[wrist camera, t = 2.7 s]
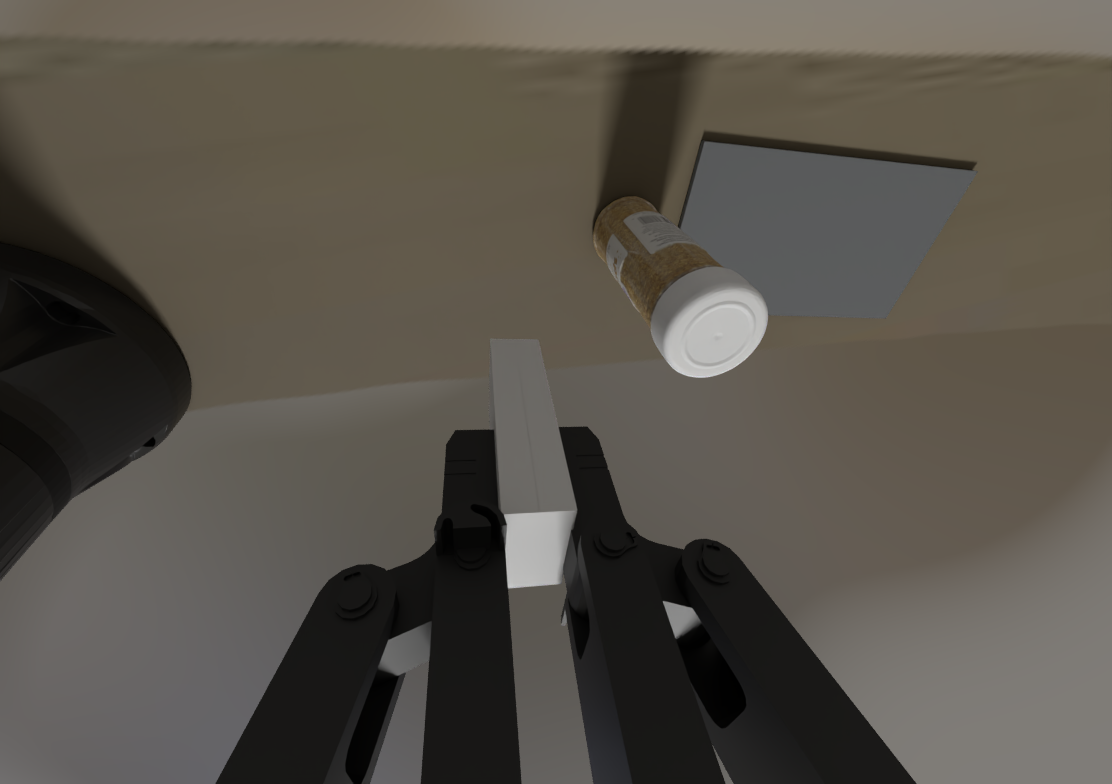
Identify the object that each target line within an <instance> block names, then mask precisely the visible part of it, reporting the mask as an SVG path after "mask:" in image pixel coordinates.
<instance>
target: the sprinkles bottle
mask: <svg viewBox="0 0 1112 784" xmlns="http://www.w3.org/2000/svg"><path fill="white" fill-rule="evenodd" d="M593 242H594V247H595V249H596V251H597V253H598V256H599V257H600V258H601V259H603V261H604V262H605V263H606V264H607V265H608V267H609V269H610V271H611V273H612V274H613V276H614V277H615V279H616V280H617V281H618V283H619V284H620V286H621V287H622V289H623V290H624V292H625V293H626V295H627V296H628V298H629V299H630V301H631V302H632V304H633V305H634V306H635V308H636V309H637V310H638V311H639V312H640V314H641V315H642V317H643V318H644V320H645V321H646V323H647V324H648V326H649V327H650V329H651V334H652V337H653V341H654V343H655V344H656V346H657V348H658V349H659V351H660V352H661V354H662V355H663V357H664V358H665V359H666V361H667V362H668V363H669V365H670V366H671V367H672V368H673V369H674V370H676V371H677V372H679V373H681V374H683V375H686V376H690V377H699V378H703V377H711V376H715V375H718V374H721V373H724V372H726V371H728V370H730V369H732V368H734V367H735V366H737V365H739V364H740V363H741V362H743V361H744V360H745V359H746V358H747V357H748V356H749V355H750V354H751V353H752V352H753V351H754V350H755V348H756V347H757V346H758V344H759V343H760V341H761V339H762V337H763V335H764V333H765V330H766V327H767V321H768V310H767V306H766V302H765V300H764V298H763V297H762V295H761V294H760V293H759V292H758V291H757V290H756V289H755V288H754V287H753V286H752V285H751V284H750V283H749V282H748V281H746V280H745V279H744V278H743V277H742V276H741V275H739V274H738V273H736V272H735V271H733V270H731V269H727V268H724V267H723V266H721V265H720V264H719V263H718V262H717V261H715V260H714V259H713V258H712V257H711V256H710V255H709V253H708V252H707V251H706V250H705V249H704V248H703V247H701V246H700V245H699V244H698V243H696V242H695V241H694V240H693V239H692V238H690V237H689V236H688V235H687V234H685V233H684V232H683V231H682V230H681V229H679V228H678V227H677V226H676V225H675V224H673V223H672V222H671V221H670V220H669V219H667V218H666V217H665V216H663V215H661V214H659V213H658V211H657V210H656V208H655V207H654V206H653V205H652V204H651V203H650V202H648V201H647V200H645V199H642V198H640V197H636V196H632V197H631V196H627V197H622V198H620V199H617V200H615V201H613V202H612V203H610V204H609V205H608V206H607V207H605V208H604V209H603V210H602V211H601V213H600V215H599V216H598V218H597V220H596V223H595V227H594V231H593Z"/></svg>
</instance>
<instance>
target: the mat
mask: <svg viewBox="0 0 1112 784" xmlns="http://www.w3.org/2000/svg"><path fill="white" fill-rule="evenodd" d="M977 172H978V171H973V170H965V169H956V168H947V167H938V166H929V165H920V164H911V163H902V162H893V161H884V160H875V159H866V158H857V157H848V156H838V155H829V154H820V153H811V152H802V151H793V150H784V149H775V148H766V147H757V146H748V145H739V144H730V143H721V142H712V141H703V140H702V141H701V145H700V149H699V152H698V156H697V160H696V163H695V167H694V171H693V174H692V178H691V182H690V185H689V189H688V193H687V196H686V200H685V204H684V207H683V211H682V215H681V218H680V222H679V226H678V228H679V229H681V230H682V231H683V232H684V233H685V234H687V235H688V236H689V237H690V238H692V239H693V240H694V241H695V242H696V243H698V244H699V245H700V246H701V247H703V248H704V249H705V250H706V251H707V252H708V253H709V255H710V256H711V257H712V258H713V259H714V260H715V261H717V262H718V263H719V264H720V265H721V266H723V267H724V268H727V269H731V270H733V271H735V272H736V273H738V274H739V275H741V276H742V277H743V278H744V279H745V280H746V281H748V282H749V283H750V284H751V285H752V286H753V287H754V288H755V289H756V290H757V291H758V292H759V293H760V294H761V295H762V297H763V298H764V300H765V302H766V306H767V310H768V315H783V316H819V317H856V318H886V317H887V316H888V314H889V312H890V311H891V309H892V308H893V306H894V304H895V303H896V301H897V300H898V298H899V296H900V295H901V293H902V292H903V290H904V288H905V287H906V285H907V284H908V282H909V281H910V279H911V277H912V276H913V274H914V273H915V271H916V269H917V268H918V266H919V265H920V263H921V261H922V260H923V258H924V257H925V255H926V253H927V252H928V250H929V249H930V247H931V245H932V244H933V242H934V241H935V239H936V237H937V236H938V234H939V233H940V231H941V230H942V228H943V226H944V225H945V223H946V222H947V220H948V218H949V217H950V215H951V214H952V212H953V210H954V209H955V207H956V206H957V204H958V202H959V201H960V199H961V198H962V196H963V194H964V193H965V191H966V190H967V188H968V186H969V185H970V183H971V182H972V180H973V179H974V177H975V175H976V174H977Z"/></svg>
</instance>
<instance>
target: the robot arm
mask: <svg viewBox="0 0 1112 784" xmlns="http://www.w3.org/2000/svg"><path fill="white" fill-rule="evenodd" d="M190 399H191V380H190V375H189V372H188V369H187V366H186V363H185V361H184V359H183V357H182V355H181V353H180V352H179V350H178V348H177V347H176V345H175V344H174V343H173V341H172V340H171V338H170V337H169V336H168V335H167V334H166V332H165V331H164V330H163V329H162V328H161V327H160V326H159V325H158V324H157V323H156V322H155V321H154V320H153V319H152V318H151V317H150V316H149V315H148V314H147V313H146V312H145V311H143V310H142V309H141V308H140V307H139V306H137V305H136V304H135V303H133V302H132V301H131V300H130V299H128V298H127V297H125V296H124V295H122V294H121V293H120V292H118V291H117V290H115V289H113V288H112V287H110V286H109V285H107V284H105V283H104V282H102V281H100V280H98V279H97V278H95V277H93V276H91V275H89V274H87V273H85V272H83V271H81V270H79V269H77V268H75V267H73V266H70V265H68V264H66V263H63V262H61V261H59V260H56V259H53V258H51V257H48V256H45V255H42V254H39V253H36V252H33V251H30V250H27V249H23V248H19V247H16V246H11V245H7V244H3V243H0V581H1V580H2V579H3V577H4V576H5V575H6V574H7V573H8V572H9V570H10V569H11V568H12V567H13V566H14V565H15V563H16V562H17V561H18V560H19V559H20V558H21V556H22V555H23V554H24V553H25V552H26V551H27V550H28V548H29V547H30V546H31V545H32V544H33V543H34V541H35V540H36V539H37V538H38V537H39V536H40V535H41V533H42V532H43V531H44V530H45V529H46V528H47V527H48V525H49V524H50V523H51V522H52V521H53V519H54V518H55V517H56V516H57V515H58V514H59V513H60V511H61V510H62V509H63V508H64V507H65V506H66V505H67V504H68V503H69V502H70V501H71V500H72V499H73V498H74V497H76V496H77V495H79V494H81V493H82V492H84V491H86V490H87V489H89V488H90V487H92V486H94V485H96V484H97V483H99V482H100V481H102V480H104V479H105V478H107V477H109V476H110V475H112V474H114V473H115V472H117V471H119V470H120V469H122V468H123V467H125V466H126V465H128V464H129V463H130V462H132V461H134V460H136V459H138V458H140V457H141V456H143V455H145V454H147V453H148V452H150V451H151V450H153V449H154V448H155V447H157V446H158V445H159V444H160V443H161V442H163V440H165V438H166V437H167V436H168V435H169V434H170V432H171V431H172V430H173V428H174V427H175V426H176V425H177V423H178V422H179V421H180V420H181V418H182V417H183V416H184V414H185V412H186V411H187V408H188V406H189V403H190ZM489 423H490V430H455V432H454V434H453V435H452V436H451V438H450V440H449V441H448V443H447V444H446V457H445V472H444V488H443V503H442V513H441V515H440V516H439V517H438V518H437V522H436V525H435V528H434V536H435V543H434V545H433V546H432V547H431V548H430V549H429V550H428V551H427V552H426V553H425V554H423V555H422V556H421V557H419V558H417V559H415V560H413V561H411V562H409V563H407V564H404V565H401V566H398V567H396V568H393V569H391V570H388V571H386V570H385V569H384V568H381V567H378V566H375V565H373V564H368V565H367V564H366V565H356V566H353V567H350V568H347V569H345V570H342V571H341V572H339V573H338V574H337V575H335V576H334V577H332V578H331V579H330V580H329V581H328V582H327V583H326V584H325V586H324V587H323V588H322V590H321V591H320V592H319V594H318V596H317V597H316V599H315V601H314V603H313V605H312V607H311V608H310V611H309V612H308V614H307V616H306V618H305V619H304V621H303V623H302V625H301V627H300V629H299V631H298V632H297V634H296V636H295V638H294V640H293V642H292V644H291V645H290V647H289V649H288V651H287V653H286V655H285V657H284V658H283V660H282V662H281V664H280V666H279V667H278V669H277V671H276V673H275V675H274V677H273V679H272V680H271V682H270V684H269V686H268V688H267V690H266V692H265V693H264V695H263V697H262V699H261V701H260V702H259V704H258V706H257V708H256V710H255V712H254V714H253V716H252V717H251V719H250V721H249V723H248V725H247V726H246V729H245V730H244V732H243V734H242V736H241V738H240V740H239V741H238V743H237V745H236V747H235V749H234V751H233V753H232V754H231V756H230V758H229V760H228V762H227V763H226V765H225V767H224V769H223V771H222V773H221V774H220V776H219V778H218V780H217V782H216V784H370V781H371V778H372V775H373V772H374V769H375V766H376V763H377V760H378V757H379V754H380V751H381V747H382V745H383V741H384V738H385V735H386V732H387V729H388V726H389V723H390V720H391V717H392V714H393V711H394V708H395V704H396V701H397V699H398V696H399V692H400V689H401V686H402V683H403V680H404V677H405V674H406V672H407V671H409V670H411V669H413V668H415V667H417V666H419V665H421V664H423V663H425V662H428V661H429V672H428V686H427V687H428V688H427V701H426V716H425V731H424V746H423V760H422V776H421V784H521V770H520V756H519V741H518V728H517V713H516V699H515V684H514V669H513V655H512V640H511V627H510V611H509V596H508V588H518V587H530V586H540V585H553V584H561V583H562V578H563V574H564V577H565V583H566V588H567V594H566V599H565V603H564V607H563V611H562V615H561V626H563V625H566V622H567V624H568V630H569V636H570V643H571V649H572V654H573V661H574V667H575V673H576V679H577V685H578V691H579V698H580V704H581V710H582V716H583V722H584V728H585V734H586V741H587V747H588V752H589V758H590V765H591V771H592V777H593V783H594V784H725V781H724V778H723V775H722V772H721V770H720V766H719V764H718V761H717V758H716V755H715V752H714V749H713V746H714V748H715V750H716V752H717V754H718V756H719V757H720V759H721V761H722V763H723V765H724V767H725V769H726V770H727V772H728V774H729V776H730V778H731V780H732V781H733V783H734V784H916V782H915V781H914V780H913V779H912V777H911V776H910V775H909V774H908V772H907V771H906V770H905V769H904V767H903V766H902V765H901V763H900V762H899V761H898V760H897V758H896V757H895V756H894V754H893V753H892V752H891V751H890V749H889V748H888V747H887V746H886V744H885V743H884V742H883V740H882V739H881V738H880V737H879V735H878V734H877V733H876V731H875V730H874V729H873V728H872V726H871V725H870V724H869V723H868V721H867V720H866V719H865V717H864V716H863V715H862V714H861V712H860V711H859V710H858V709H857V707H856V706H855V705H854V703H853V702H852V701H851V700H850V698H849V697H848V696H847V694H846V693H845V692H844V691H843V690H842V688H841V687H840V686H839V684H838V683H837V682H836V680H835V679H834V678H833V677H832V675H831V674H830V673H829V672H828V670H827V669H826V668H825V667H824V665H823V664H822V663H821V661H820V660H819V659H818V657H816V655H815V654H814V652H813V651H812V650H811V649H810V647H809V646H808V645H807V644H806V642H805V641H804V640H803V639H802V637H801V636H800V635H799V633H798V632H797V631H796V630H795V628H794V627H793V626H792V625H791V623H790V622H789V621H788V619H787V618H786V617H785V615H784V614H783V613H782V612H781V610H780V609H779V608H778V606H777V605H776V604H775V603H774V601H773V600H772V599H771V598H770V596H769V595H768V594H767V593H766V591H765V590H764V589H763V587H762V586H761V585H760V584H759V582H758V581H757V580H756V578H755V577H754V576H753V575H752V573H751V572H750V571H749V570H748V569H747V567H746V566H745V564H744V563H743V562H742V561H741V560H740V558H739V557H738V556H737V555H736V554H735V553H734V552H733V551H732V550H731V549H730V548H728V547H726V546H724V545H723V544H721V543H719V542H717V541H713V540H709V539H698V540H694V541H692V542H690V543H689V544H687V545H686V547H685V549H684V550H683V549H678V548H675V547H671V546H666V545H662V544H658V543H655V542H652V541H649V540H647V539H645V538H643V537H642V536H640V535H639V534H638V533H637V531H636V530H635V529H634V528H633V527H631V526H630V525H629V524H628V523H627V522H626V519H625V518H624V515H623V513H622V510H621V506H620V503H619V500H618V497H617V494H616V491H615V488H614V485H613V482H612V479H611V475H610V473H609V470H608V468H607V463H606V460H605V458H604V454H603V451H602V448H601V445H600V442H599V439H598V438H597V437H596V436H595V435H594V434H593V433H592V431H591V430H590V429H589V428H588V427H558V423H557V419H556V414H555V410H554V406H553V401H552V397H551V393H550V388H549V384H548V379H547V375H546V371H545V366H544V362H543V358H542V353H541V349H540V344H539V340H533V339H490V374H489ZM712 745H713V746H712Z"/></svg>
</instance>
